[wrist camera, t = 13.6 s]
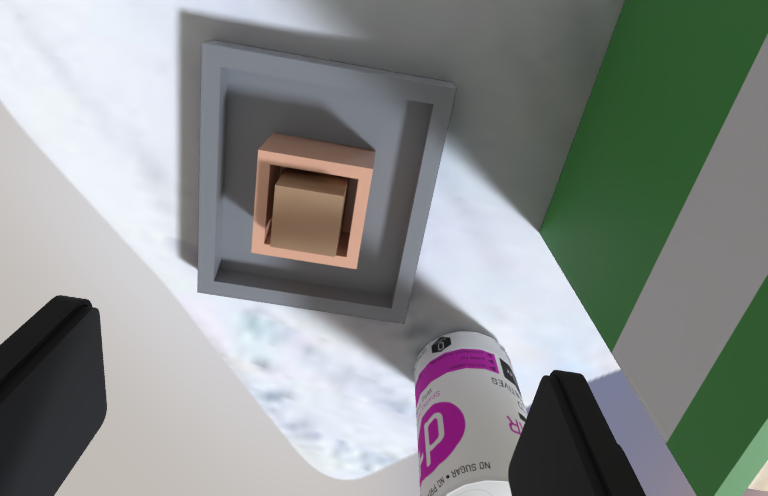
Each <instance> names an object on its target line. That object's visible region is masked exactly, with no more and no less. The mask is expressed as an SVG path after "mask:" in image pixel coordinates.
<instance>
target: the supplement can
mask: <svg viewBox="0 0 768 496" xmlns="http://www.w3.org/2000/svg"><path fill="white" fill-rule="evenodd" d="M414 377H415V397H416V417H417V437H418V457H419V476H420V496H512V494H511V490H510V486H509V480H508V469H509V464H510V461H511V458H512V456H513V453H514V450H515V448H516V445H517V442H518V440H519V437H520V434H521V432H522V429H523V426H524V424H525V421H526V419H527V413H526V409H525V406H524V403H523V400H522V397H521V393H520V390H519V387H518V384H517V381H516V377H515V374H514V371H513V368H512V365H511V361H510V359H509V357H508V355H507V353H506V351H505V349H504V347H503V346H501V345H500V344H499V343H498V342H497V341H495V340H494V339H493V338H492V337H489V336H486V335H483V334H481V333H478V332H467V331H457V332H453V333H449V334H445V335H442V336H440V337H438V338H437V339H435V340H433V341H432V342H430V343H428V344H427V345H426V347H425V348H424V349H423V350H422V352H421V353H420V354H419V355H418V358H417V361H416V364H415V368H414Z"/></svg>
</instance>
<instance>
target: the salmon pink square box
mask: <svg viewBox="0 0 768 496" xmlns="http://www.w3.org/2000/svg"><path fill="white" fill-rule="evenodd" d="M375 151H376V150H373V149H367V148H361V147H355V146H349V145H344V144H338V143H332V142H326V141H320V140H314V139H308V138H303V137H297V136H291V135H285V134H279V133H272V135H271V136H270V137H269V138H268V139H267V140H266V141H265V143H264V144H263V145H262V146H261V147H260V148H259V149H258V159H257V174H256V189H255V204H254V219H253V234H252V249H251V253H257V254H263V255H269V256H276V257H282V258H288V259H294V260H301V261H307V262H313V263H320V264H326V265H332V266H339V267H345V268H351V269H357V263H358V257H359V251H360V245H361V239H362V233H363V227H364V221H365V215H366V209H367V203H368V197H369V191H370V185H371V179H372V173H373V166H374V158H375ZM286 167H289V168H295V169H301V170H307V171H313V172H319V173H325V174H331V175H337V176H343V177H349V185H348V192H347V199H346V206H345V212H344V219H343V225H342V229H341V234H340V238H339V242H338V247H337V251H336V256H335V257H331V256H325V255H319V254H313V253H306V252H300V251H294V250H287V249H281V248H275V247H270V241H271V229H272V217H273V205H274V193H275V184H276V183H277V181H278V180H279V178H280V176H281V175H282V173H283V172H284V170H285V168H286Z"/></svg>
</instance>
